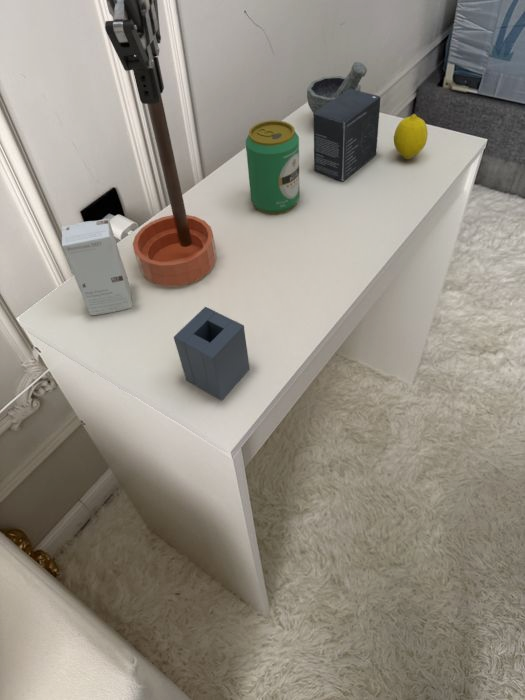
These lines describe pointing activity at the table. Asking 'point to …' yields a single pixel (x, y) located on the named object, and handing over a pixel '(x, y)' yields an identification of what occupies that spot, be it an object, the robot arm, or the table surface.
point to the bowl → (174, 252)
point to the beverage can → (273, 166)
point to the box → (346, 133)
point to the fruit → (410, 136)
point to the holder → (213, 352)
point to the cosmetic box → (97, 266)
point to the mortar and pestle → (334, 87)
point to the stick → (169, 169)
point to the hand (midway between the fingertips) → (152, 96)
